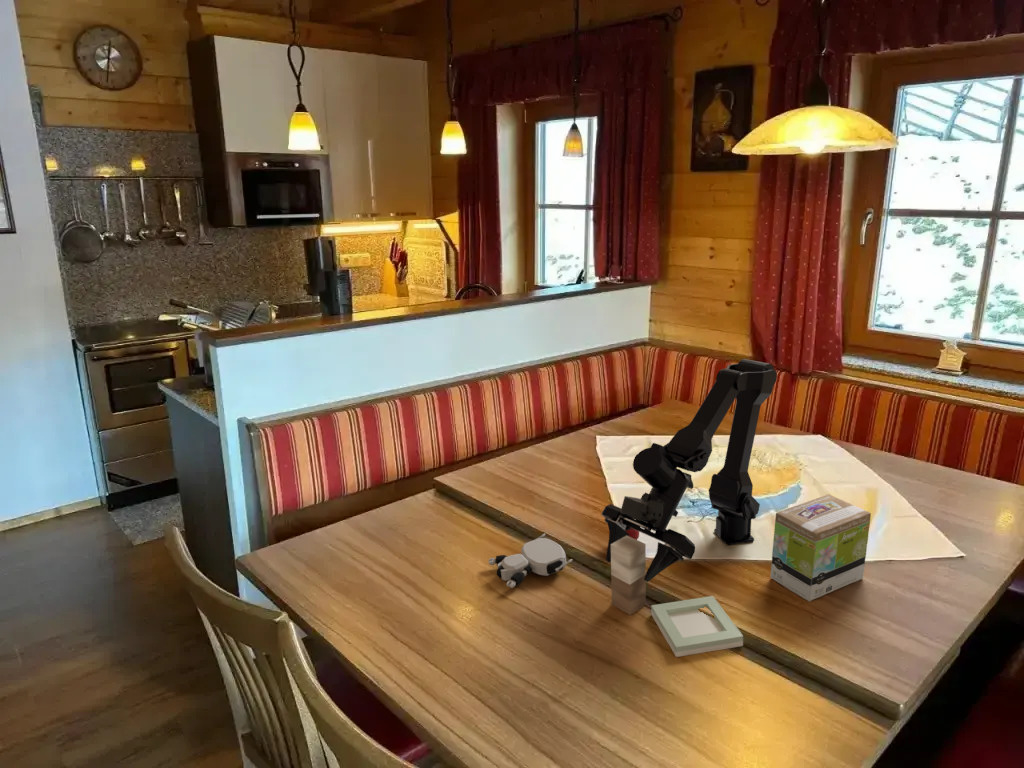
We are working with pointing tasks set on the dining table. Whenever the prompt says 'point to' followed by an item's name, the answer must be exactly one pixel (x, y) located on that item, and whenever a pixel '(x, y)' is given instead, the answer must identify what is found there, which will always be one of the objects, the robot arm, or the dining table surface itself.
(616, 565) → the block stack
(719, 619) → the picture frame
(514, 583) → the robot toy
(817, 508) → the tea box
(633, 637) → the dining table surface
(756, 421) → the robot arm
